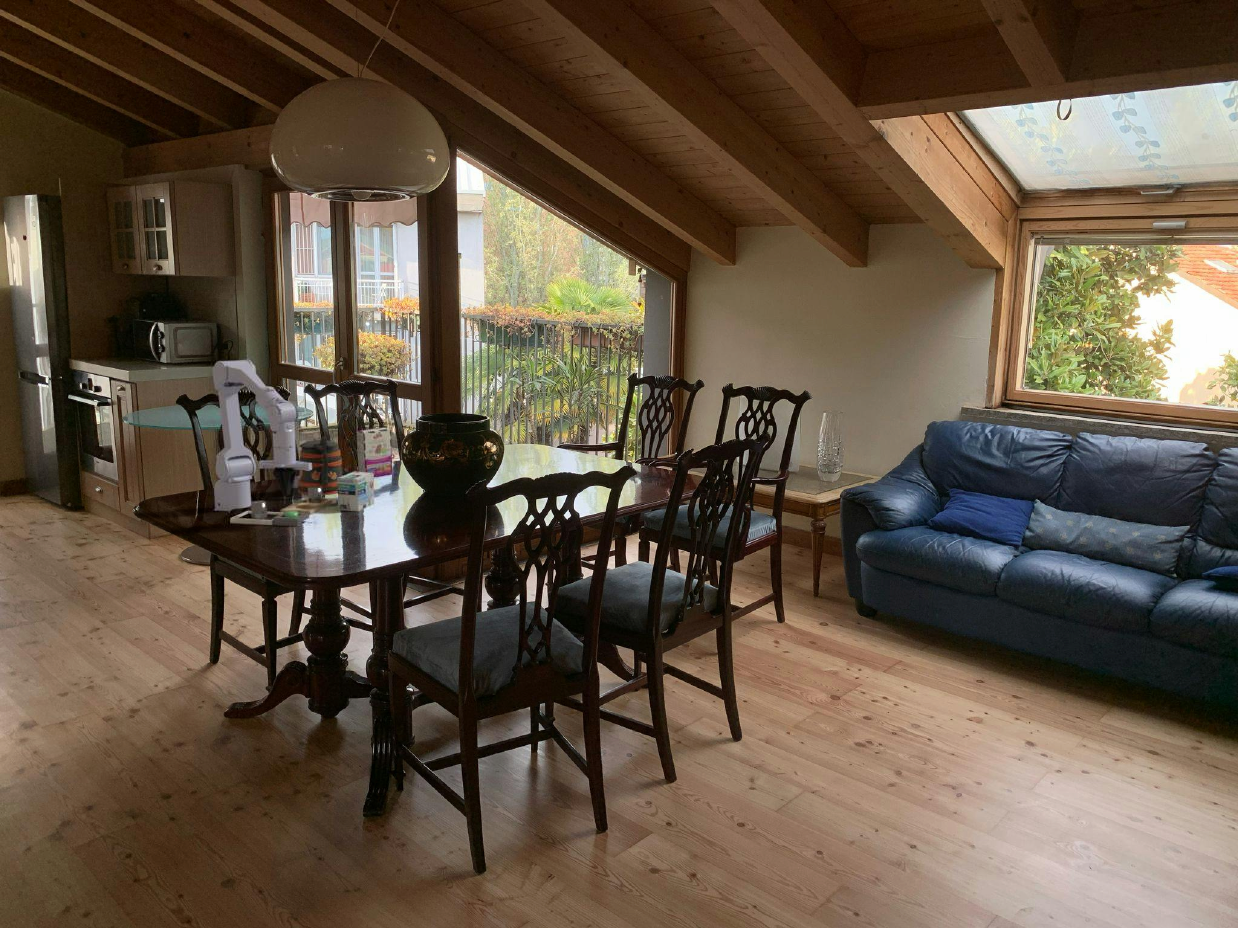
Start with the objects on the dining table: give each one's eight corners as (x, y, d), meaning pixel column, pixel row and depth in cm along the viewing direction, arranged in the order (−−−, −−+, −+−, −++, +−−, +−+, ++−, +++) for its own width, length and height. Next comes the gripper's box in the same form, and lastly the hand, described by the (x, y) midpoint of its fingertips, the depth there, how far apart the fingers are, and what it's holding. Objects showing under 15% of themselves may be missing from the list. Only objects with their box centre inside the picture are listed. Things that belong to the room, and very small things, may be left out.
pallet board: (280, 517, 266) (280, 509, 265) (307, 504, 282) (307, 497, 282) (310, 518, 265) (310, 511, 264) (335, 505, 281) (335, 498, 281)
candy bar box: (384, 472, 332) (383, 427, 329) (393, 474, 329) (391, 428, 326) (357, 476, 324) (356, 430, 321) (365, 478, 321) (364, 431, 318)
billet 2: (306, 505, 276) (305, 488, 275) (312, 502, 280) (311, 485, 279) (319, 505, 276) (318, 489, 275) (325, 502, 279) (324, 486, 278)
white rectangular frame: (230, 524, 257) (230, 518, 257) (247, 516, 266) (247, 510, 266) (272, 526, 256) (271, 520, 255) (287, 518, 265) (287, 512, 264)
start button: (282, 520, 257) (282, 513, 257) (288, 517, 260) (288, 510, 260) (294, 521, 256) (294, 514, 256) (300, 518, 260) (300, 511, 260)
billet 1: (249, 521, 259) (248, 503, 258) (256, 517, 263) (255, 500, 262) (262, 521, 259) (261, 504, 258) (269, 518, 262) (268, 501, 262)
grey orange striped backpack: (355, 499, 290) (353, 435, 287) (307, 503, 283) (304, 439, 279) (339, 487, 306) (337, 427, 303) (293, 491, 299) (290, 430, 295)
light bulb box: (358, 515, 270) (357, 479, 268) (337, 513, 271) (336, 477, 269) (375, 507, 280) (374, 472, 278) (354, 505, 282) (353, 470, 280)
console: (273, 526, 256) (273, 517, 255) (285, 520, 262) (285, 511, 262) (297, 527, 255) (297, 519, 254) (309, 521, 262) (309, 513, 261)
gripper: (251, 447, 252) (254, 496, 254) (302, 450, 250) (305, 499, 253) (264, 443, 259) (267, 491, 261) (314, 445, 257) (316, 493, 260)
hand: (286, 494), depth 257 cm, fingers closed
